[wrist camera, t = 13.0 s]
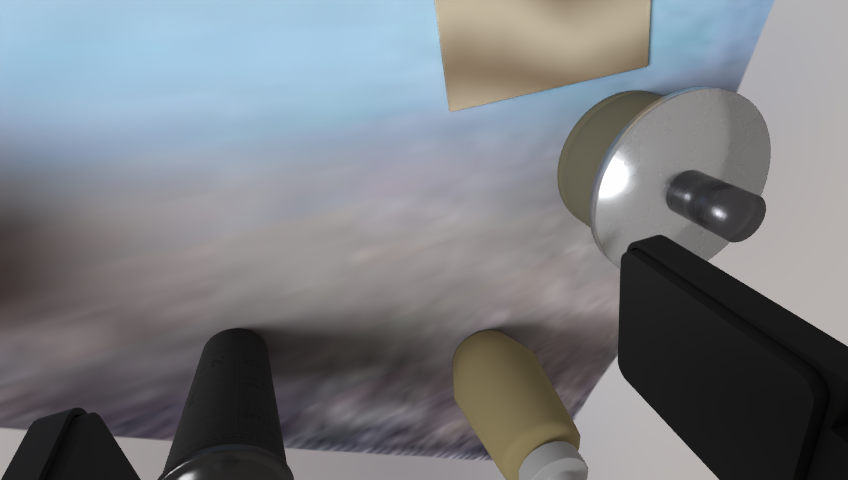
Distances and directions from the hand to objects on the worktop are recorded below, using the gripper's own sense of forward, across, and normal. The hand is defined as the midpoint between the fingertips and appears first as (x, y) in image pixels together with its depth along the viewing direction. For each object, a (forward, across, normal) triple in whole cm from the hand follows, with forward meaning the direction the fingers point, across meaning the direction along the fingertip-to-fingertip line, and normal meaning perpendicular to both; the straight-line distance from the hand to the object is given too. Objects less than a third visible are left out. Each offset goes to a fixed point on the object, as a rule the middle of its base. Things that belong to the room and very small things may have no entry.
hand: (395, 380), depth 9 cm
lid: (+22, -24, +10) cm, 34 cm away
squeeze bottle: (+28, -10, +26) cm, 40 cm away
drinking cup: (+28, +10, +18) cm, 35 cm away
